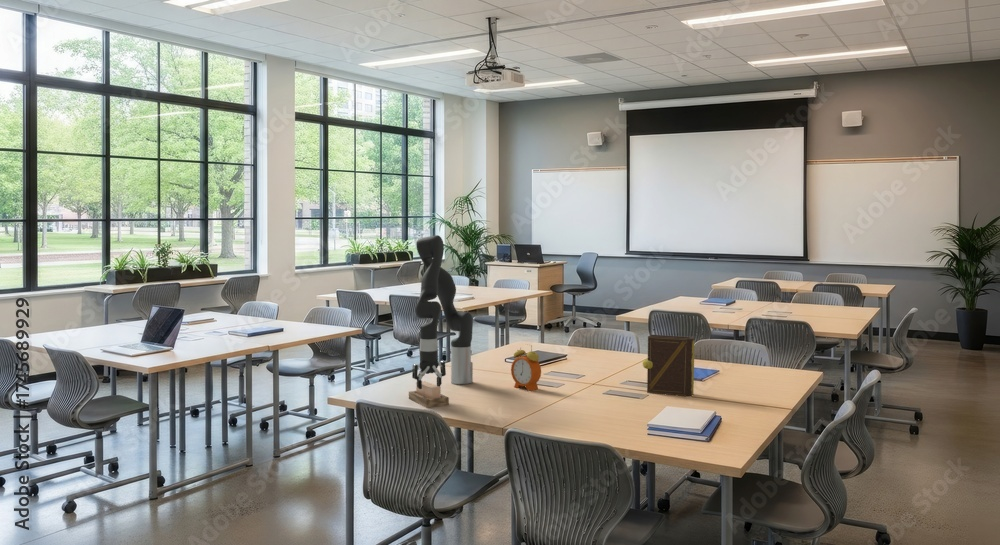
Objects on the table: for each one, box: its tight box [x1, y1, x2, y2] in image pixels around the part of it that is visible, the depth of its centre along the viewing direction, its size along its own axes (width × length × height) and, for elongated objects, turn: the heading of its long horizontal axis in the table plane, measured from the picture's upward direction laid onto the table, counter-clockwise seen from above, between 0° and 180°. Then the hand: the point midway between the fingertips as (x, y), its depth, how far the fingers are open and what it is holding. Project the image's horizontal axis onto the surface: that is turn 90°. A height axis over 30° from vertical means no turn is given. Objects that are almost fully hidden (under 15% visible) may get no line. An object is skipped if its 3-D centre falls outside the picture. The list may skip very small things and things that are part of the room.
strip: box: [415, 380, 442, 399], centre depth 322 cm, size 4×14×6 cm, turn 33°
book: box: [642, 334, 695, 397], centre depth 338 cm, size 22×8×25 cm, turn 65°
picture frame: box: [408, 390, 450, 409], centre depth 322 cm, size 10×18×3 cm, turn 30°
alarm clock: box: [510, 344, 542, 392], centre depth 347 cm, size 13×6×20 cm, turn 47°
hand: (429, 387), depth 322 cm, fingers open, 8 cm apart
